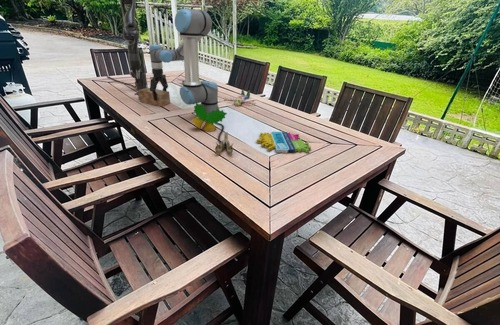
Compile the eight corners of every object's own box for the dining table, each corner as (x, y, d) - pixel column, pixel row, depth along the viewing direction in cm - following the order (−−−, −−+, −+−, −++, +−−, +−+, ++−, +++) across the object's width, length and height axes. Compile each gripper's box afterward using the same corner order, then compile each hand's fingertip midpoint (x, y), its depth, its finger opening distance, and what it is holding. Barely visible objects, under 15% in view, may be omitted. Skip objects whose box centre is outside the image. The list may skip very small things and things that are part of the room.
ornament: (218, 133, 171) (224, 110, 169) (221, 134, 163) (227, 111, 161) (186, 125, 162) (192, 101, 160) (189, 126, 155) (195, 101, 153)
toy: (261, 91, 228) (254, 99, 202) (261, 99, 231) (253, 108, 205) (231, 87, 233) (220, 95, 207) (230, 95, 236) (219, 104, 210)
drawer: (133, 98, 206) (131, 89, 202) (141, 96, 213) (140, 87, 210) (158, 104, 198) (157, 94, 194) (166, 101, 205) (165, 92, 201)
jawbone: (234, 135, 144) (233, 125, 135) (233, 160, 138) (232, 151, 129) (217, 135, 144) (216, 125, 135) (216, 160, 138) (214, 150, 129)
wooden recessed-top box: (140, 101, 203) (138, 90, 199) (149, 98, 212) (148, 87, 207) (161, 106, 197) (160, 94, 192) (170, 103, 205) (169, 91, 200)
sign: (313, 150, 142) (258, 149, 139) (312, 153, 143) (258, 152, 140) (301, 132, 164) (254, 130, 161) (301, 134, 165) (254, 133, 162)
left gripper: (137, 58, 201) (140, 81, 209) (123, 60, 190) (127, 84, 199) (144, 59, 199) (147, 82, 207) (131, 61, 188) (135, 85, 196)
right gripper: (163, 65, 200) (166, 94, 211) (141, 69, 181) (145, 101, 192) (171, 66, 197) (173, 96, 208) (150, 71, 179) (153, 102, 190)
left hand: (137, 83), depth 203 cm, fingers closed
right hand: (160, 98), depth 200 cm, fingers closed on wooden recessed-top box, 10 cm apart
